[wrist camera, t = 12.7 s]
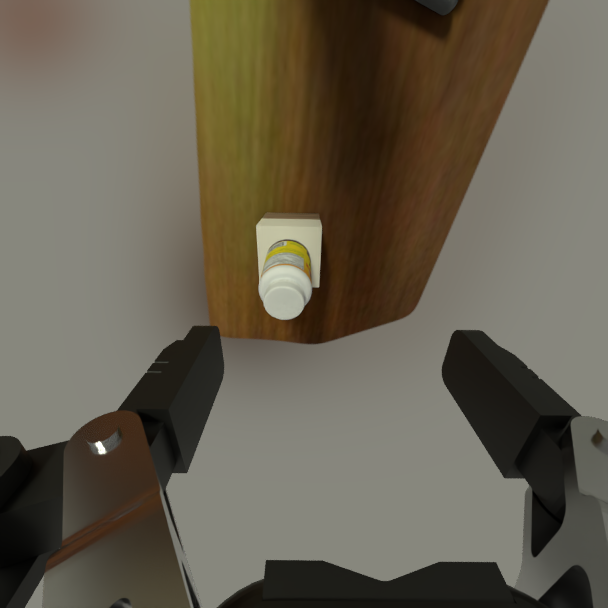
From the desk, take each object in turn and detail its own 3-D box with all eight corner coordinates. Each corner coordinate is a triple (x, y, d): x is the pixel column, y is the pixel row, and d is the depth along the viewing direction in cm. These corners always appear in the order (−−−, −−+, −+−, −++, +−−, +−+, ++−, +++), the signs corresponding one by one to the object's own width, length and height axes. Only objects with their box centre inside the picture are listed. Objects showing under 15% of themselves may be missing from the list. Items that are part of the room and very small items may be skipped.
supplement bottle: (301, 282, 37) (300, 333, 29) (261, 268, 36) (248, 317, 27) (317, 246, 34) (322, 290, 26) (274, 229, 33) (264, 271, 24)
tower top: (261, 218, 38) (256, 225, 33) (320, 219, 38) (322, 227, 34) (264, 273, 42) (259, 286, 37) (317, 274, 42) (319, 287, 37)
